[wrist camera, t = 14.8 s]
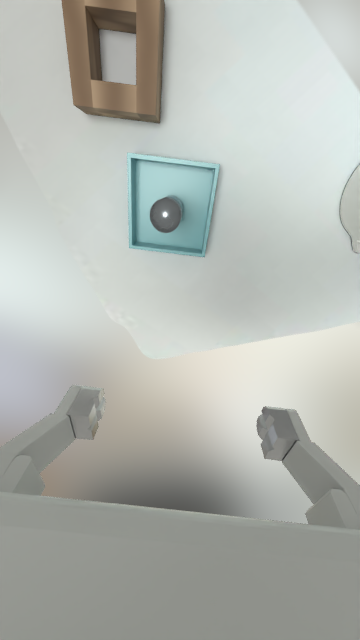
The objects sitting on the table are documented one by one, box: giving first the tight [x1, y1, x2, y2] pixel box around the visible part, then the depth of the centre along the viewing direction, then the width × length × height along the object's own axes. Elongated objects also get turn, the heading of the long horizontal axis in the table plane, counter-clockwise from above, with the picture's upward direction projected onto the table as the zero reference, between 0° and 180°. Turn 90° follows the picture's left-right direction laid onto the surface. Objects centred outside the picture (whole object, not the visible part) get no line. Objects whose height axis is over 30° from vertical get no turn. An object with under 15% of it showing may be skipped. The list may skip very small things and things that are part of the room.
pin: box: [150, 195, 184, 233], centre depth 32 cm, size 4×4×10 cm
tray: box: [127, 153, 220, 257], centre depth 35 cm, size 13×13×4 cm
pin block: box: [62, 0, 165, 123], centre depth 26 cm, size 11×11×4 cm
